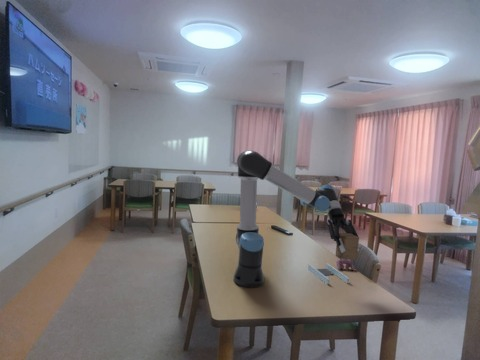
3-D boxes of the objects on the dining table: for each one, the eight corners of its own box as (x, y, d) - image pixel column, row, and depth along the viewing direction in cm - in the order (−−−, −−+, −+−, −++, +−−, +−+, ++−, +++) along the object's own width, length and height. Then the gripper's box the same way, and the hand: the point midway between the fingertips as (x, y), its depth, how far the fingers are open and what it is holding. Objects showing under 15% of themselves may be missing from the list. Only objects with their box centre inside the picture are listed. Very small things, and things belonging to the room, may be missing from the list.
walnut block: (335, 254, 153) (338, 233, 152) (347, 254, 155) (350, 233, 154) (343, 259, 146) (346, 237, 145) (356, 259, 148) (359, 237, 147)
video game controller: (352, 271, 181) (351, 259, 183) (355, 271, 177) (354, 258, 179) (335, 270, 180) (335, 258, 183) (338, 270, 176) (337, 257, 179)
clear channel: (307, 269, 175) (308, 264, 175) (327, 268, 179) (327, 263, 178) (327, 284, 156) (327, 279, 156) (348, 283, 160) (349, 278, 159)
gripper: (347, 215, 167) (363, 254, 153) (314, 214, 161) (328, 255, 147) (354, 207, 161) (372, 247, 147) (321, 206, 155) (336, 248, 142)
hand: (350, 251), depth 147 cm, fingers closed on walnut block, 7 cm apart
